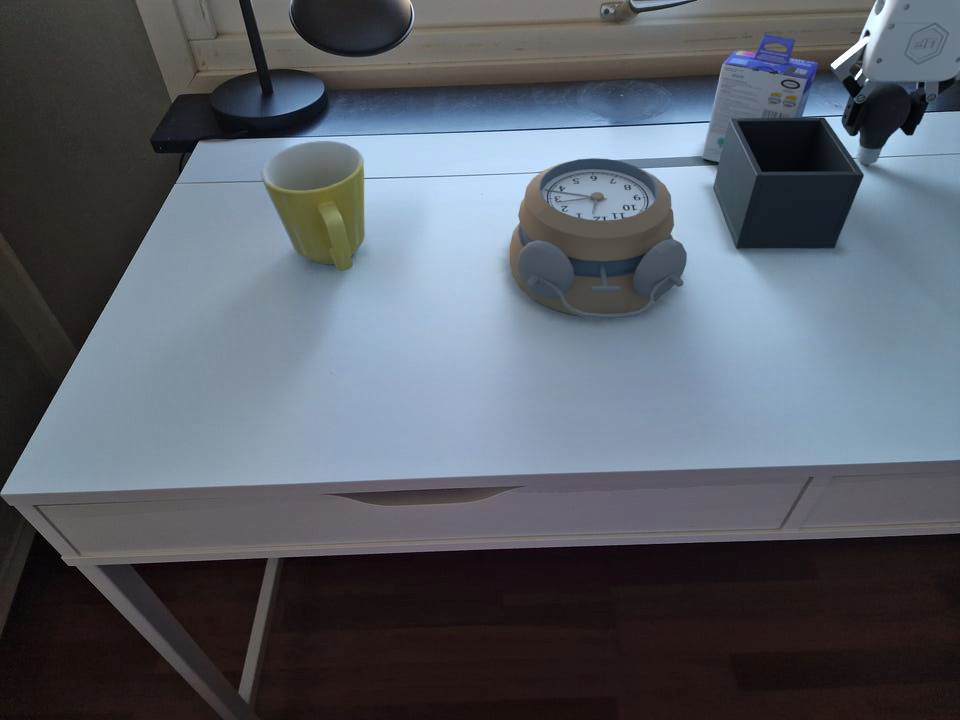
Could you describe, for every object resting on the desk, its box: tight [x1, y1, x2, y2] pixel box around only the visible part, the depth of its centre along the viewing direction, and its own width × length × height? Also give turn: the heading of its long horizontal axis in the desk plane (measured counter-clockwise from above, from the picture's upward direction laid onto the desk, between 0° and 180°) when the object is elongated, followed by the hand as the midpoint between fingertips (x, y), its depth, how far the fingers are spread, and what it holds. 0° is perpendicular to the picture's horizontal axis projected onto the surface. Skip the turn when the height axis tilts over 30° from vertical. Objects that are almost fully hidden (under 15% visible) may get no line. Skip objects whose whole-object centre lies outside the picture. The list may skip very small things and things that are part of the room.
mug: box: [260, 140, 366, 272], centre depth 71 cm, size 14×10×10 cm
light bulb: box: [855, 82, 911, 167], centre depth 82 cm, size 6×6×10 cm
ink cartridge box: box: [701, 33, 819, 163], centre depth 82 cm, size 10×6×14 cm, turn 58°
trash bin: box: [712, 116, 865, 249], centre depth 75 cm, size 10×12×9 cm
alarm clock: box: [509, 157, 688, 320], centre depth 68 cm, size 17×9×23 cm
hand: (877, 129), depth 82 cm, fingers closed on light bulb, 5 cm apart
